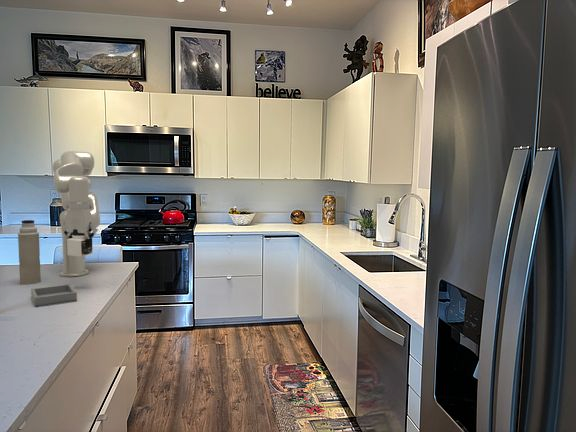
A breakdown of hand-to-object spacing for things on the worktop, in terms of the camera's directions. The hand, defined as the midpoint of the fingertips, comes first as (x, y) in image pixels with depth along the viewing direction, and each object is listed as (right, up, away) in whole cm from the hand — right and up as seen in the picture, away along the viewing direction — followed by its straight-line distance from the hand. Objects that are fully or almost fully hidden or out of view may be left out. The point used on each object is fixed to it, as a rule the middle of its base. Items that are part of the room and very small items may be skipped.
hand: (80, 246), depth 180 cm
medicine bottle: (0, -4, 0) cm, 4 cm away
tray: (-3, -20, -15) cm, 25 cm away
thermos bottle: (-27, -17, +8) cm, 32 cm away
